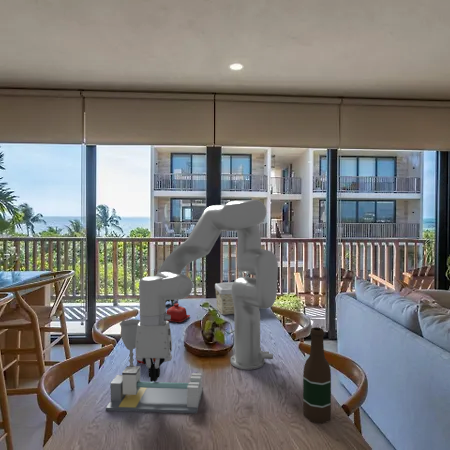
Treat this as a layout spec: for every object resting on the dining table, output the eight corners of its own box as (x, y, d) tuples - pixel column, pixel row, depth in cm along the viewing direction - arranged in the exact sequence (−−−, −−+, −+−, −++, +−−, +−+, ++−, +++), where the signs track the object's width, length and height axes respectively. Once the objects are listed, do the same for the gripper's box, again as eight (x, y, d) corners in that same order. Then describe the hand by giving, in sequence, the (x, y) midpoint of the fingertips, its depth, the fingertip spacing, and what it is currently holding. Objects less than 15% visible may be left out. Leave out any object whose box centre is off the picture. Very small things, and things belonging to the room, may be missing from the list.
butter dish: (191, 317, 176) (191, 301, 176) (181, 324, 165) (181, 307, 165) (172, 315, 180) (171, 299, 179) (161, 322, 169) (160, 305, 169)
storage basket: (253, 305, 198) (253, 280, 197) (263, 313, 182) (263, 286, 181) (214, 308, 192) (214, 282, 191) (220, 316, 176) (220, 289, 175)
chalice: (122, 381, 110) (121, 327, 109) (119, 372, 116) (117, 321, 115) (144, 375, 113) (143, 323, 112) (140, 367, 119) (139, 318, 118)
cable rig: (202, 390, 104) (202, 370, 103) (196, 413, 92) (196, 391, 92) (121, 387, 106) (121, 368, 105) (105, 410, 94) (105, 388, 93)
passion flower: (176, 315, 196) (178, 302, 188) (157, 312, 194) (159, 299, 187) (178, 300, 205) (181, 287, 198) (161, 298, 204) (162, 284, 196)
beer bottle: (298, 407, 94) (298, 324, 93) (325, 406, 95) (325, 323, 94) (307, 425, 86) (308, 334, 85) (336, 423, 87) (337, 333, 86)
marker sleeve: (140, 387, 101) (140, 366, 101) (136, 394, 97) (135, 373, 97) (127, 387, 101) (127, 366, 101) (122, 394, 97) (122, 372, 97)
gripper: (180, 315, 101) (181, 373, 102) (132, 314, 102) (134, 372, 103) (175, 323, 93) (176, 386, 94) (123, 322, 95) (125, 385, 95)
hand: (154, 379), depth 99 cm, fingers closed
